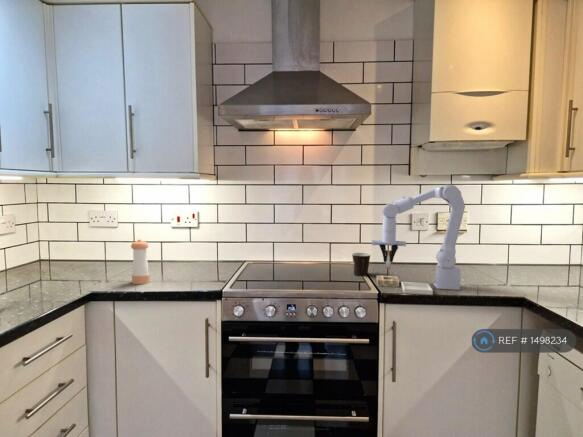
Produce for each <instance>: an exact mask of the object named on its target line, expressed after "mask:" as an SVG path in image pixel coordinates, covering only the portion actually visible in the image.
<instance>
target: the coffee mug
mask: <svg viewBox="0 0 583 437" xmlns="http://www.w3.org/2000/svg"><path fill="white" fill-rule="evenodd" d="M370 260H371V254H370V253H366V252H354V253H352V266H353V275H354V276H357V275H358V276H357V277H366V275H367V276H368V272H369V266H370Z"/></svg>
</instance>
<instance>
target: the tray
mask: <svg viewBox="0 0 583 437" xmlns="http://www.w3.org/2000/svg"><path fill="white" fill-rule="evenodd" d="M400 288H401V289H402V292H403V294H406V295H408V294H409V295H424V296H433V294H434V293H433V292H434V290H433V288H432V287H431V286H430V284H429V283H428V282H413V281H412V282H411V281H401V282H400Z"/></svg>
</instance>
